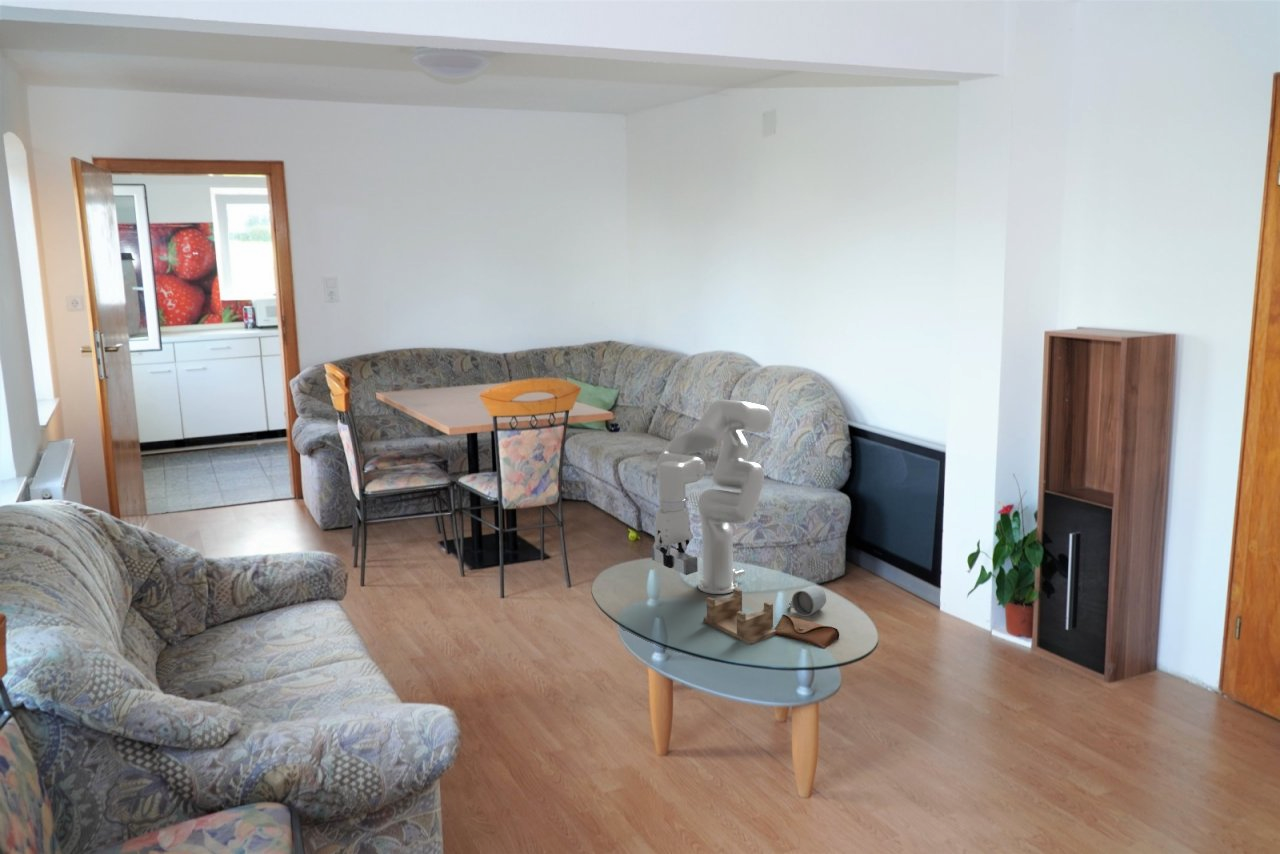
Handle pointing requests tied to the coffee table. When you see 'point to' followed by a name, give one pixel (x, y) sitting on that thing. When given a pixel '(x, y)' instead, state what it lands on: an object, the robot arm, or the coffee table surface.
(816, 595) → the ceramic mug
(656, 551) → the rail
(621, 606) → the coffee table surface
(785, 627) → the sunglasses case
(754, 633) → the rack
